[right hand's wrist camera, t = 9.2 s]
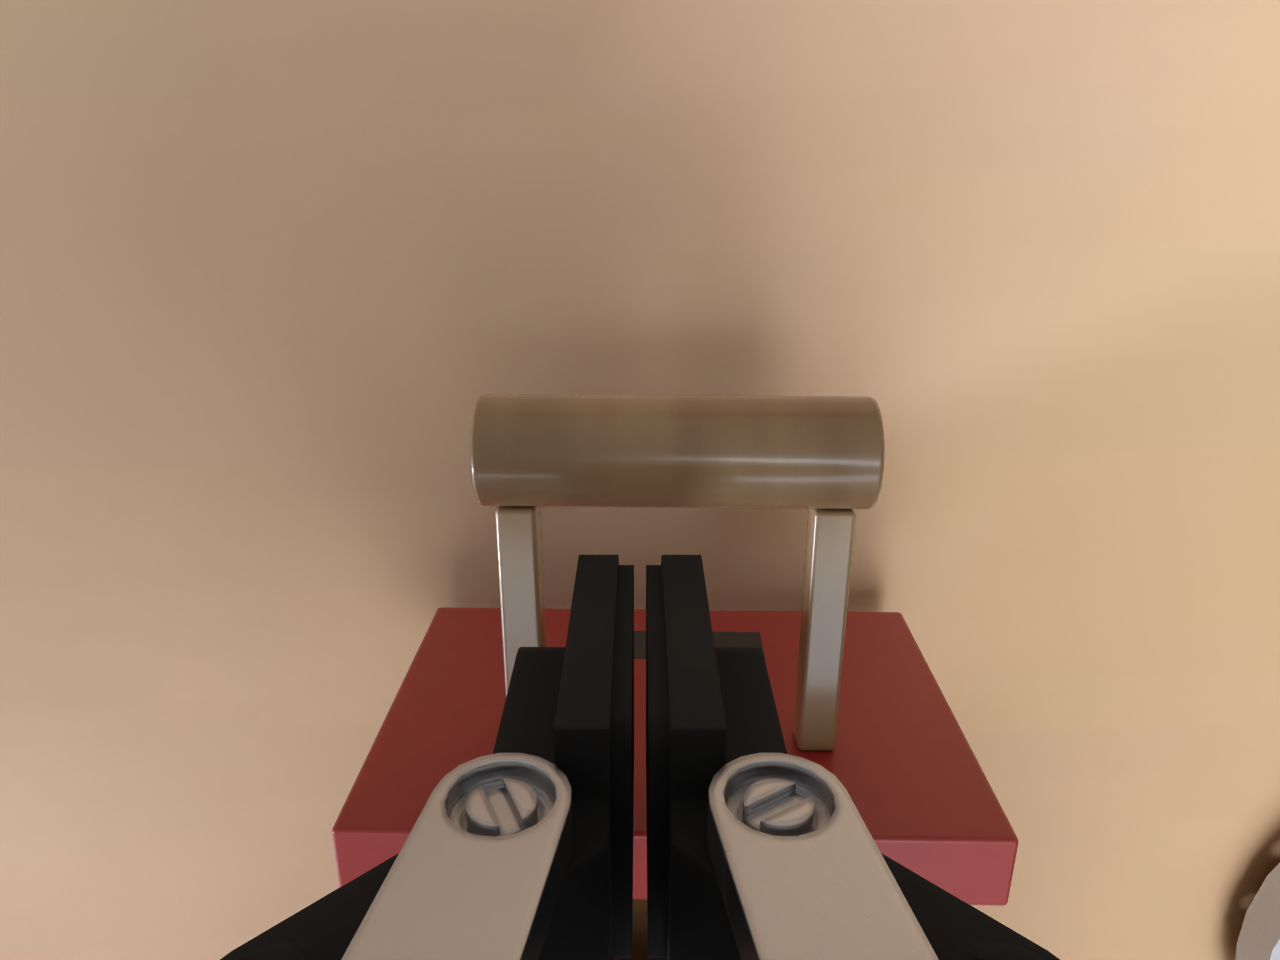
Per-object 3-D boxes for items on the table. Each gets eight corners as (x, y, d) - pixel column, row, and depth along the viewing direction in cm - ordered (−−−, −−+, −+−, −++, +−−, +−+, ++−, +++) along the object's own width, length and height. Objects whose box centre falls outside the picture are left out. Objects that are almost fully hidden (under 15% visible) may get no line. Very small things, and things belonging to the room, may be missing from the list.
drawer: (414, 334, 17) (273, 442, 11) (931, 337, 17) (1091, 448, 11) (472, 1021, 23) (403, 1344, 17) (854, 1028, 23) (926, 1358, 17)
